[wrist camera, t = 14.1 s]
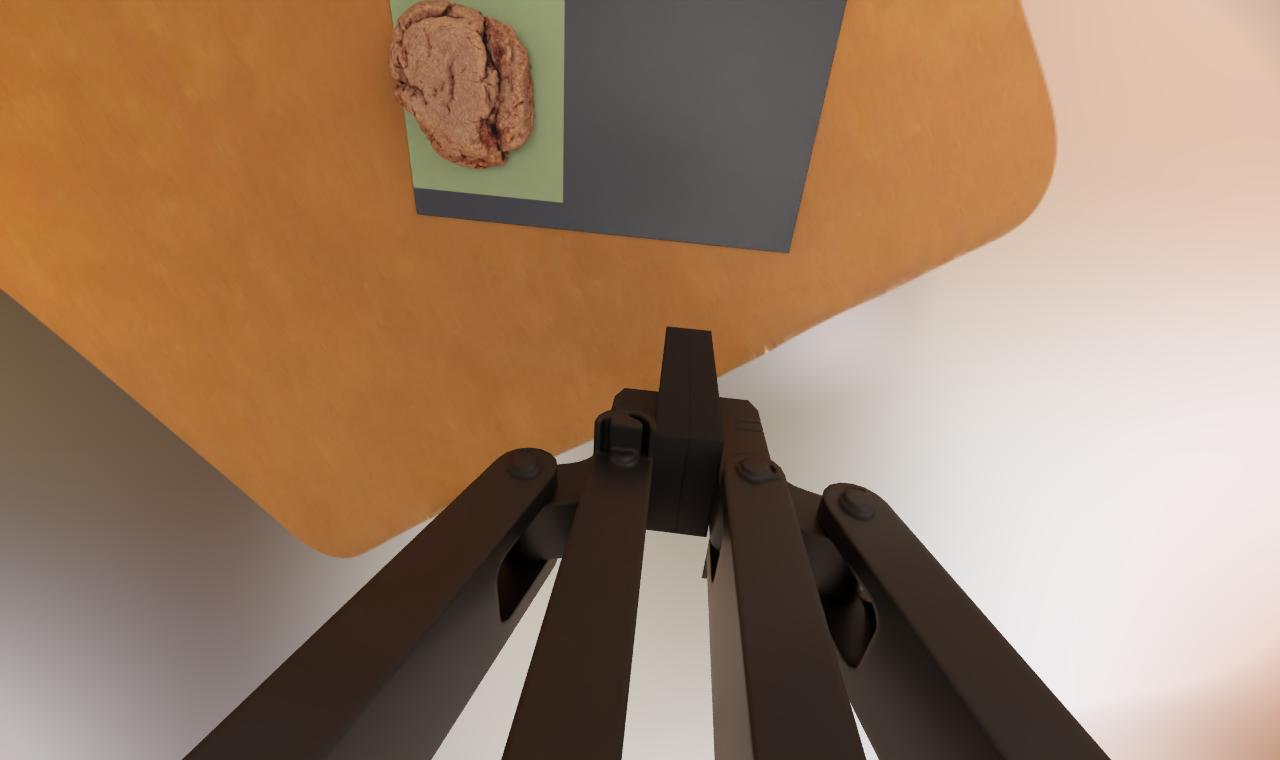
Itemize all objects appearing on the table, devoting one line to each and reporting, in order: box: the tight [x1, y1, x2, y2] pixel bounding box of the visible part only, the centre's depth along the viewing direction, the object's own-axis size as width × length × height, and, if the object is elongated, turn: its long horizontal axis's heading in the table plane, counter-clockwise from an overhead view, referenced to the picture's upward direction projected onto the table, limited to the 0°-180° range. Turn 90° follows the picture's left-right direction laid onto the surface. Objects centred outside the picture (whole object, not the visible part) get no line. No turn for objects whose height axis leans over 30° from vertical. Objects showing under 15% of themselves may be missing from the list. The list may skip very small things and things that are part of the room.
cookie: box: [388, 0, 536, 169], centre depth 32 cm, size 10×11×3 cm
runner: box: [390, 0, 847, 253], centre depth 33 cm, size 18×30×1 cm, turn 85°
